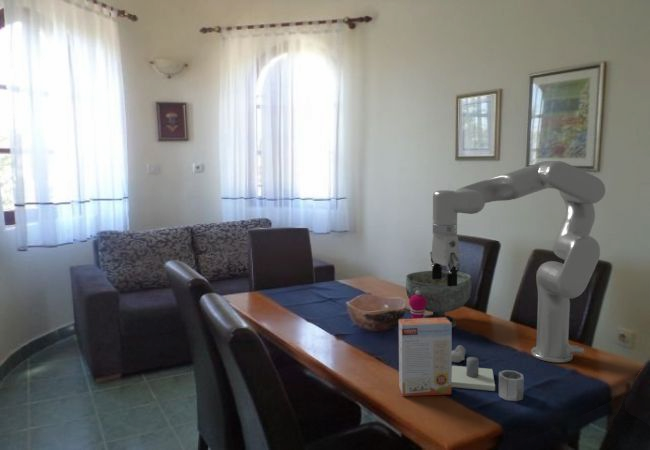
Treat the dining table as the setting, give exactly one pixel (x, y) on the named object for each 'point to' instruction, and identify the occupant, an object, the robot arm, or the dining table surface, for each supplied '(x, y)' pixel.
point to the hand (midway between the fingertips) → (444, 282)
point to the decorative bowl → (439, 292)
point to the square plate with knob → (472, 376)
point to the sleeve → (511, 385)
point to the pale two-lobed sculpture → (458, 354)
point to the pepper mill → (417, 305)
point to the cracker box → (425, 356)
